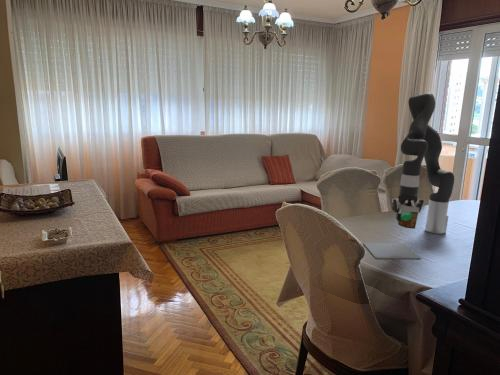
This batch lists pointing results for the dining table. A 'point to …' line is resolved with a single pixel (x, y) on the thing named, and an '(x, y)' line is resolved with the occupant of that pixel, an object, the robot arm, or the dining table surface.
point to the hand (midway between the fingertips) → (404, 220)
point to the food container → (408, 216)
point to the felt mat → (391, 251)
